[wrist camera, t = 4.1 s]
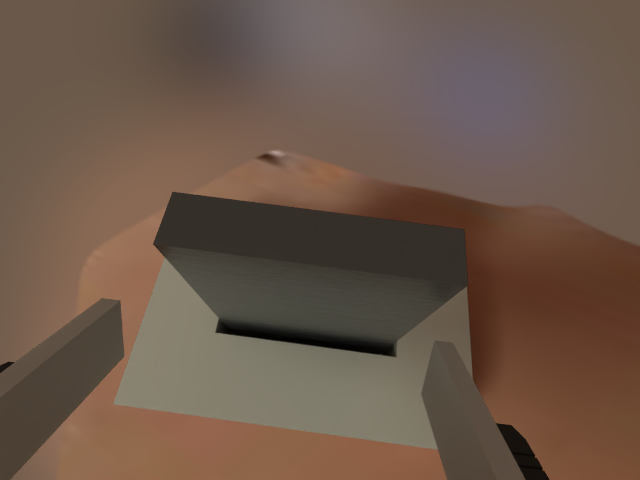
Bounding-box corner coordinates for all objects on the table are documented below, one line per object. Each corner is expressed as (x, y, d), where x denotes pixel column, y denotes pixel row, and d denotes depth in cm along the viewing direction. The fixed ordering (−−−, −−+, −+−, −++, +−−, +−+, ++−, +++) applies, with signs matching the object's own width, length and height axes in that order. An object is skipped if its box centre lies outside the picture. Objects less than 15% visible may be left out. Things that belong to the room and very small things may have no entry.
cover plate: (376, 330, 26) (464, 229, 12) (375, 358, 25) (467, 285, 11) (243, 312, 26) (172, 192, 12) (237, 339, 26) (153, 244, 11)
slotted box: (435, 282, 30) (464, 253, 24) (439, 446, 24) (477, 455, 19) (201, 251, 30) (178, 216, 25) (154, 406, 25) (113, 404, 19)
